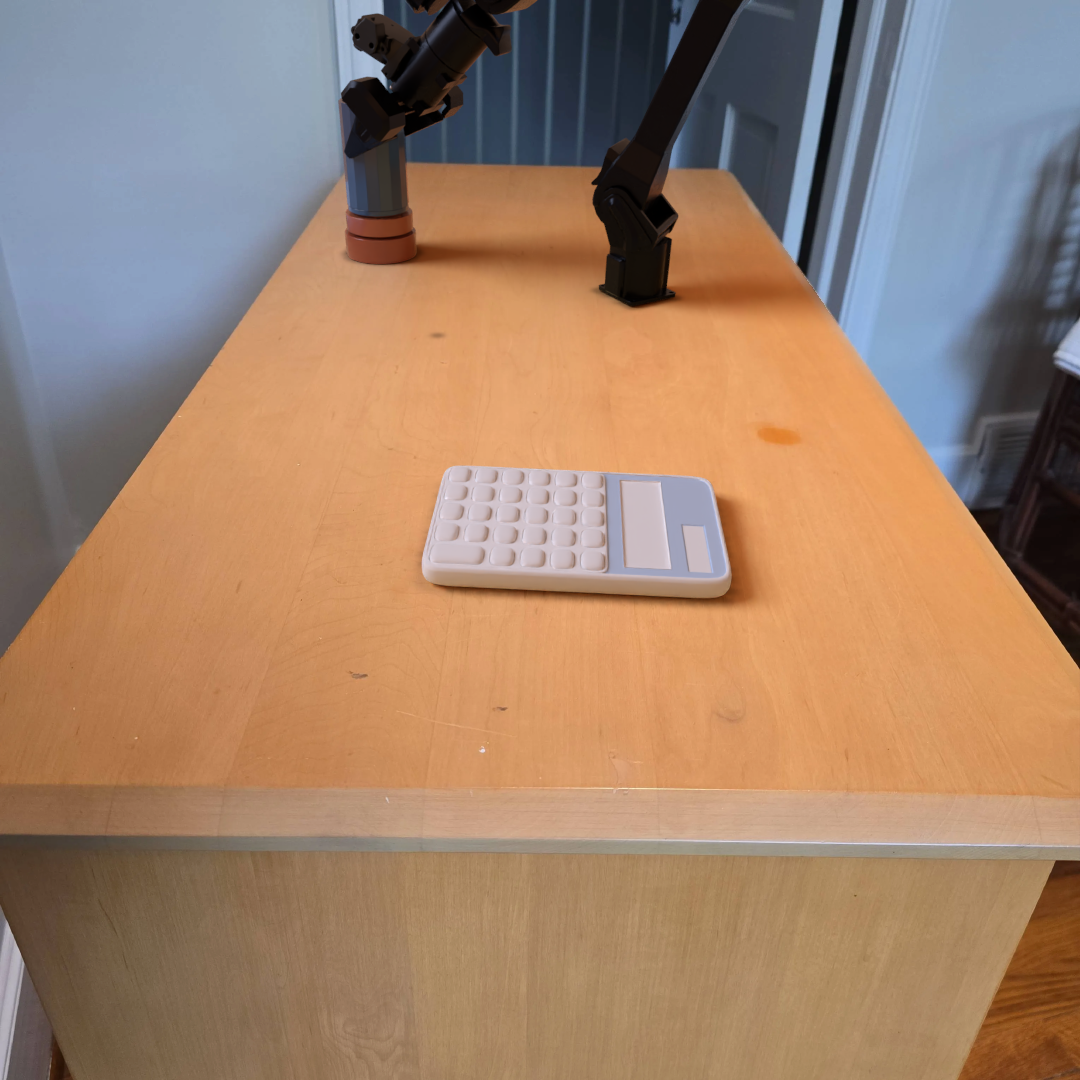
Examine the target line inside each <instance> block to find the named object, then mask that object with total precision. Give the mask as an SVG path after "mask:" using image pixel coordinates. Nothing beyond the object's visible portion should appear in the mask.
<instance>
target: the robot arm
mask: <svg viewBox="0 0 1080 1080" xmlns="http://www.w3.org/2000/svg"><path fill="white" fill-rule="evenodd" d="M404 1H405V3H406V4H407V5H408V6H409V8H410V9H411V10H412V12H413V13H414V14H421V13H423V12H425V13H426V14H427V15H428V16H432V15H434V14H436V13H438V12H439V11H440V12H439V13H438V14H437V16H436V17H435V18H434V19H433V21H432V22H431V23H430V24H429V26H428V27H427V28H426V29H425V30H424V32H423V33H422V34H421V35H417V36H415V35H414V34H413V33H412V32H411V31H410V30H408V29H406V28H405V27H403V26H402V25H401V24H399V23H398V22H396V21H394V20H393V19H391V18H389V17H388V16H386V15H385V14H383V13H378V12H376V13H371V14H370V13H369V14H364V15H361V16H360V17H359V18H357V21H356V23H355V24H354V25H352V26H351V27H350V33H351V35H352V36H351V39H352V43H353V44H352V45H353V47H354V48H355V49H356V50H357V51H359V52H364V53H365V54H366V55H368V56H369V57H371V58H372V59H374V60H376V61H377V62H379V63H380V64H382V65H384V66H383V67H382V68H381V69H380V72H381V73H382V74H383V76H384V77H385V79H387V80H388V81H391V84H390V85H389V90H390V91H391V92H390V91H389V90H388V89H387V87H386V86H385V85H384V83H382V81H381V80H380V79H379V78H378V77H376V76H364V77H360V78H355V79H352V80H350V81H349V82H348V83H347V84H346V86H345V87H344V88H343V90H342V91H341V92H340V98H342V100H343V101H344V102H345V103H346V105H347V106H348V107H349V108H350V110H351V111H352V112H353V113H354V115H355V118H354V122H353V126H352V129H351V132H350V135H349V138H348V140H347V143H346V146H345V149H344V153H345V154H346V155H347V157H348V158H349V159H352V158H354V157H356V156H358V155H361V154H363V153H365V152H367V151H369V150H371V149H373V148H375V147H378V146H380V145H382V144H384V143H386V142H388V141H391V140H393V139H395V138H397V137H398V136H397V135H396V134H397V133H399V132H400V131H401V129H402V128H403V127H404V126H405V138H406V137H409V136H411V135H413V134H416V133H418V132H420V131H422V130H425V129H427V128H429V127H431V126H435V125H436V124H438V123H442V122H443V121H444V119H448V118H451V117H453V116H455V115H456V113H457V112H459V110H460V109H462V107H463V106H464V92H463V91H462V89H461V88H460V86H459V85H462V84H463V83H464V82H465V81H466V80H467V78H468V76H467V74H466V72H467V71H468V70H469V69H470V68H471V67H472V65H474V64H475V62H476V61H477V60H478V59H479V58H480V57H481V55H482V54H483V53H484V52H485V50H487V48H488V49H489V51H490V52H491V54H492V55H493V56H494V57H500V56H503V55H506V54H509V53H511V52H512V50H513V47H512V38H511V31H512V26H511V24H501V23H499V21H498V20H497V19H496V18H495V17H494V16H496V15H503V14H508V13H513V12H518V11H522V10H526V9H528V8H529V7H532V5H533V4H535V3H536V2H537V1H538V0H404ZM750 2H751V0H698V2H697V4H696V5H695V8H694V10H693V12H692V14H691V17H690V18H689V21H688V23H687V25H686V27H685V29H684V31H683V34H682V36H681V37H680V40H679V42H678V44H677V46H676V48H675V50H674V52H673V55H672V57H671V59H670V61H669V62H668V64H667V67H666V69H665V71H664V74H663V76H662V78H661V79H660V82H659V83H658V85H657V89H656V90H655V92H654V94H653V96H652V98H651V101H650V103H649V106H647V109H646V111H645V113H644V116H643V118H642V120H641V122H640V124H639V126H638V128H637V131H636V132H635V134H634V136H633V137H632V139H631V140H629V139H628V138H627V137H625V138H623V139H621V140H620V141H618V142H616V143H614V144H613V145H611V146H610V147H608V148H607V150H606V152H605V155H604V159H603V163H602V166H601V168H600V171H599V172H598V174H597V176H596V177H595V178H594V179H593V180H591V183H590V184H591V186H596V187H595V189H594V191H593V194H592V201H591V202H592V203H591V204H592V206H593V208H594V212H595V214H596V216H597V218H598V219H599V221H600V222H601V223H602V224H603V226H604V229H605V234H606V237H607V240H608V244H609V253H607V254H606V259H605V260H606V261H605V275H604V283H601V284H598V291H601V292H602V293H604V294H607V295H608V296H610V297H612V298H613V299H615V300H618V301H620V302H621V303H623V304H626V305H628V306H630V307H635V306H640V305H641V306H642V305H645V304H650V303H654V302H655V303H656V302H660V301H664V300H668V299H673V298H675V297H676V294H677V293H676V291H674V290H671V289H670V288H668V282H669V272H670V271H669V270H670V262H671V253H672V244H673V243H672V242H673V238H671V237H668V236H667V235H668V234H671V233H672V232H673V230H674V227H675V225H676V223H677V222H678V219H679V213H678V212H677V211H676V209H675V208H674V207H673V206H672V204H671V202H670V201H669V200H668V199H667V198H666V196H665V195H664V194H663V190H664V186H665V183H666V180H667V176H668V174H669V168H670V164H671V158H672V154H673V153H672V152H673V148H674V146H675V144H676V142H677V140H678V137H679V136H680V134H681V131H682V130H683V127H684V126H685V124H686V122H687V120H688V118H689V116H690V114H691V112H692V110H693V108H694V106H695V104H696V102H697V100H698V99H699V96H700V94H701V93H702V90H703V89H704V86H705V84H706V83H707V81H708V78H709V76H710V74H711V73H712V71H713V69H714V66H715V64H716V63H717V61H718V58H719V57H720V55H721V53H722V51H723V48H724V47H725V45H726V44H727V43H726V42H727V41H728V39H729V37H730V35H731V33H732V31H733V29H734V27H735V25H736V23H737V21H738V20H739V17H740V15H741V13H742V12H743V10H744V9H745V8H746V7H747V5H748V4H749V3H750ZM444 105H445V107H444V108H443V110H441V111H440V109H441V108H442V107H443V106H444Z"/></svg>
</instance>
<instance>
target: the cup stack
mask: <svg viewBox="0 0 1080 1080" xmlns="http://www.w3.org/2000/svg"><path fill="white" fill-rule="evenodd" d="M413 214H414V213H413V209H412V208H411V207H409V209H408V210H407V211H406V212H404V213H401V214H397V215H392V216H381V217H374V216H363V215H358V214H354V213H352V212H350V211H349V209H348V208H347V209H346V210H345V221H346V228H345V230H344V239H345V249H346V251H345V252H346V255H347V257H348V258H349V259H351V260H353V261H355V262H359V263H363V264H370V265H371V264H372V265H390V264H397V263H402V262H406V261H409V260H412V259H413V258H414V257H416V256H417V254H418V249H417V248H418V247H417V246H418V245H417V229H416V227H414V215H413Z"/></svg>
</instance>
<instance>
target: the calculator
mask: <svg viewBox="0 0 1080 1080" xmlns="http://www.w3.org/2000/svg"><path fill="white" fill-rule="evenodd" d="M431 516H432V517H431V520H430V524H429V528H428V532H427V536H426V540H425V544H424V548H423V553H422V557H421V572H422V576H423V577H424V579H425V580H426V581H427V582H429V583H430V584H433V585H438V586H447V587H464V588H483V589H484V588H485V589H504V590H525V591H526V590H527V591H542V592H543V591H546V592H565V593H586V594H587V593H588V594H604V595H605V594H607V595H624V596H625V595H627V596H648V597H670V598H688V599H689V598H691V599H715V598H719V597H721V596H724V595H725V594H726V593H727V592H728V591H729V590H730V588H731V584H732V577H733V576H732V566H731V561H730V558H729V557H730V556H729V552H728V548H727V543H726V538H725V534H724V529H723V525H722V519H721V516H720V510H719V505H718V501H717V497H716V492H715V489H714V486H713V484H712V483H711V481H709V479H707V478H704V477H701V476H695V475H680V474H663V473H640V472H639V473H636V472H617V471H616V472H615V471H598V470H597V471H596V470H595V471H593V470H576V469H575V470H574V469H551V468H531V467H529V468H528V467H512V466H511V467H509V466H489V465H488V466H486V465H453V466H449V467H448V468H446V470H445V471H444V472H443V474H442V477H441V481H440V484H439V488H438V492H437V497H436V501H435V505H434V508H433V514H432V515H431Z"/></svg>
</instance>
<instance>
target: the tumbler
mask: <svg viewBox="0 0 1080 1080" xmlns="http://www.w3.org/2000/svg"><path fill="white" fill-rule="evenodd" d="M337 103H338V104H337V105H338V114H339V126H340V136H341V137H340V138H341V149H342V159H343V170H344V180H345V192H346V193H345V194H346V202H347V204H346V205H347V209H349V211H350V212H352V213H354V214H358V215H363V216H374V217H381V216H392V215H397V214H401V213H404V212H406V211H407V210H408V209H409V208H410V206H409V203H410V198H409V181H408V179H409V178H408V162H407V161H408V160H407V143H406V141H407V140H406V137H405V126H404V127H403V128H402V129H401V131H400V132H399V133H397V134H396V135H397V136H398V137H397V138H395V139H393V140H391V141H388V142H386V143H384V144H382V145H380V146H378V147H375V148H373V149H371V150H369V151H367V152H365V153H363V154H361V155H358V156H356V157H354V158H352V159H349V158H348V157H347V155H346V154H345V153H344V149H345V146H346V143H347V140H348V138H349V135H350V132H351V129H352V126H353V122H354V118H355V115H354V113H353V112H352V111H351V110H350V108H349V107H348V106H347V105H346V103H345V102H344V101H343V100H342V98H341V97H340V98H339V99H338V101H337Z"/></svg>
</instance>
